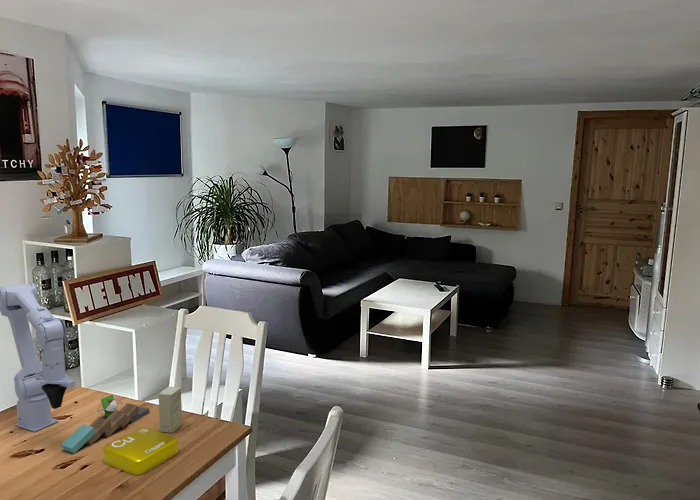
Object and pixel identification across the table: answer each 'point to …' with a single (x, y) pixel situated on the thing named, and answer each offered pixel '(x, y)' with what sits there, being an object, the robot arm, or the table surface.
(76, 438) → the teal domino
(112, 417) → the walnut domino
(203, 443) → the table surface
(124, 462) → the element tile
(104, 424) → the walnut domino
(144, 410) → the black end domino
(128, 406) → the walnut domino
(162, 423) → the skincare box
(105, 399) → the geometric puzzle
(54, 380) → the robot arm
